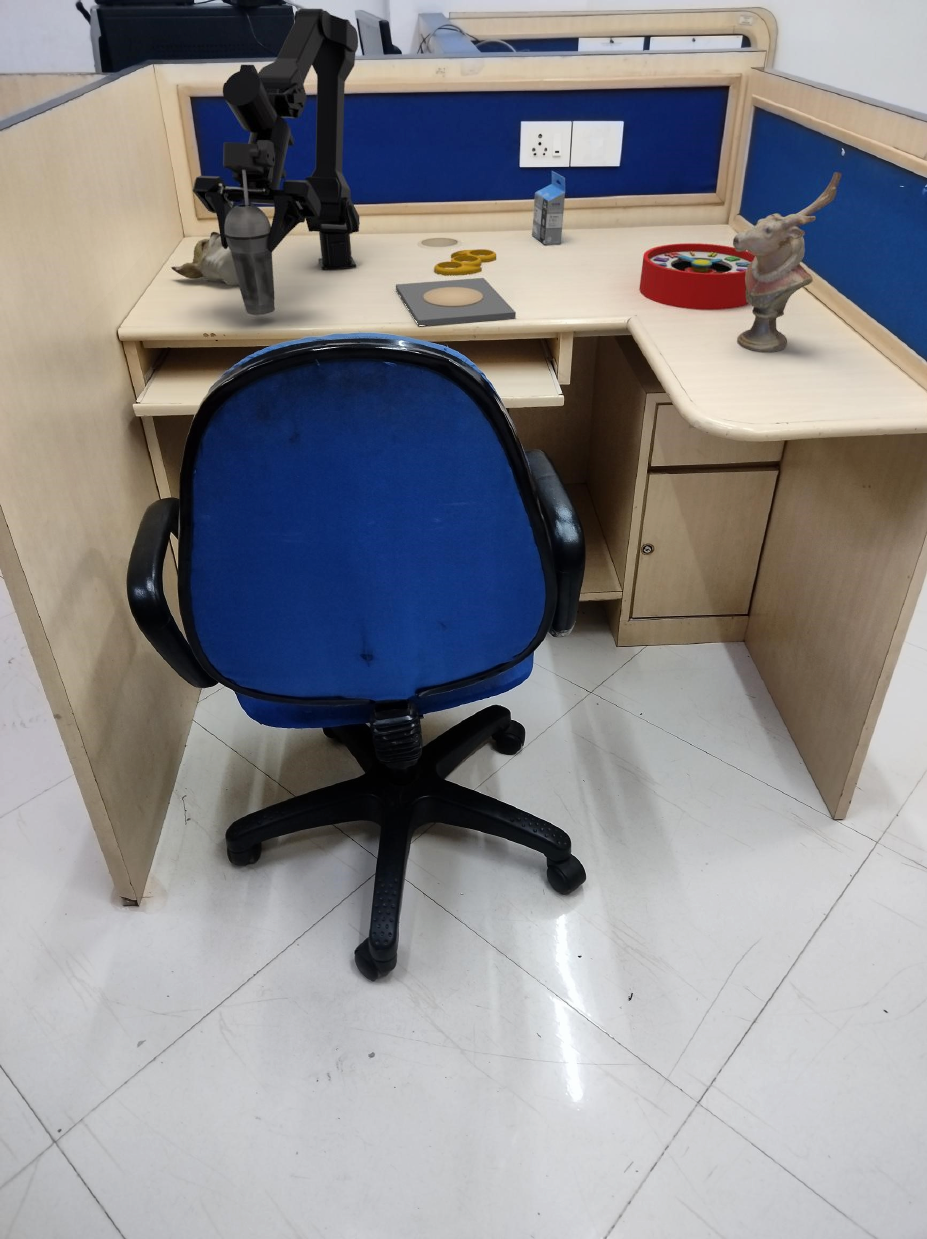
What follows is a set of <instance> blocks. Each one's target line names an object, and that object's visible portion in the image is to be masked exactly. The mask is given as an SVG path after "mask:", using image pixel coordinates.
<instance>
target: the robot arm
mask: <svg viewBox="0 0 927 1239" xmlns="http://www.w3.org/2000/svg"><path fill="white" fill-rule="evenodd" d="M293 19H294V22H293V24H292V27H291V28H290V30H289V33H288V35H287V37H286V38H285V41H284V43H283V46H282V47H281V49H280V51H279V53H278V56H277V57H276V59H275V60H274V62H273V61H272V62H271V63H269V64H267V65H265V66H263V67H262V68H261V69H260V70H259V71H258V70H257V68H256V66H255V64H240V68H239V71H236V72H235V73H233V74H232V75H230V76H229V77H228V79H227V80H226V82H224V84H222V95H223V98H224V100H225V102H226V103H227V104H228V106H229V108H230V110H231V111H232V113H233V114H234V116H235V118H236V119H237V121H238V122H239V124H240V126H241V127H242V129H243V130H245V131H247V132H248V133H250V134H249V139H248V143H247V142H230V141H229V142H228V141H227V142H223V154H222V156H223V157H222V158H223V159H222V160H223V161H222V167H223V169H228V170H230V171H231V172H233V173H232V178H233V179H234V182H236V183H237V182H238V183H239V186H228V185H227V184H226V183H225V181H224V179H223V178H222V177H221V176H215V175H213V176H212V175H199V176H197V177H196V178H195V180H194V183H193V187H192V192H193V193H194V194H195V196H196V197H197V198H198V199H199V201H200V202H201V204H203V207H205V209H206V210H207V211H208V212H210V213H212V214H216V218H217V223H218V230H219V234H220V238H221V244H222V246H223V248H224V249H227V248H228V244H227V241H226V237H225V236H224V233H225V229H224V227H225V220H226V217H227V215H228V213H229V212H230V210H231V209H232V208H233V207H235V203H245V197H244V185H243V174H242V170H246V180H247V191H248V202H249V204H253V205H254V204H258V205H273V206H274V207H273V208H274V211H273V212H274V213H273V215H272V222H271V224H270V225H271V229H270V233H269V238H268V246H267V248H268V250H269V251H270V252H272V253H273V252H274V250H275V249H276V248H277V247H278V246H279V245H280V244H281V242H282V241H283V240H284V239H285V238H286V237H287V236H288V234H289V233H291V231H293V230H294V228H296V226H298V225H299V224H300V223H305V222H306V225H307V229H308V232H309V233H310V232H318V233H319V245H320V253H321V254H320V256H321V257H319V258H318V263H319V266H320V267H321V270H331V269H332V270H335V269H337V270H338V269H349V268H351V269H352V268H357V263H356V262H355V260H354V258H353V256H352V246H351V245H352V244H351V243H352V242H351V235H352V234H353V233H359V232H360V224H361V223H360V215H359V212H358V211H357V209H356V207H355V204H354V203H353V200H352V198H351V188H350V187H349V185H348V183H347V181H346V178H345V176H344V174H343V151H344V150H343V149H344V121H345V119H344V117H345V116H344V115H345V113H344V112H345V86H346V85H345V84H346V83H345V82H346V80H347V79H348V77H349V76H350V74H351V72H352V70H353V69H354V67H355V62H356V60H355V59H356V52H357V51H358V47H359V36H358V35H359V34H358V31H357V29H356V27H355V26H354V25H352V23H351V21H350V20H349V19H348V18H341V17H339V16H336V15H333V14H331V13H329V11H327V10H324V9H323V8H300V9H299V10H298V9H297V10H296V11H295V13H294V18H293ZM311 67H312V68H313V70H314V73H315V74H316V118H315V119H316V124H315V128H316V129H315V134H316V135H315V166H314V167H315V168H314V170H313V172H312V174H311V175H310V176H306V177H305V179H303V180H300V179H298V180H297V179H287V178H286V177H287V171H286V169H285V168H284V166H285V161H286V156H287V152H288V147H294V146H295V141H294V137H293V135H292V133H291V132H292V131H291V128H290V126H289V124H288V122H287V120H285V119H299V118H300V117H301V115H302V113H303V110H304V109H305V106H306V101H307V97H308V96H307V93H306V89H305V86H304V84H305V81H306V80H307V79H306V78H307V76H308V74H309V72H310V70H311ZM282 179H284V181H283V183H282V188H281V187H280V186H281V182H282ZM285 179H286V180H285ZM280 188H281V189H280Z"/></svg>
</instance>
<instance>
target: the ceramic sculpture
mask: <svg viewBox="0 0 927 1239" xmlns="http://www.w3.org/2000/svg"><path fill="white" fill-rule="evenodd" d="M170 269H172V270H173V271H174V272H175V273H177V274H179V275H180V276H183V277H185V278H186V279H187V278H188V279H189V280H190V279H192V280H194V279H202V278H203V279H205V280H206V281H210V282H219V283H221V282H224V283H225V284H226V285H228V286H230V287H239V283H238V279H237V275H236V270H235V266H234V262H233V258H232V254H231V250H230V249H229V246H228V248H227V249H224V248H223V246H222V244H221V238H220V232H217V231H212V232H211V233H210V236H209V237H206V238H203V239H200V240H198V241H197V243H196V244H195V246H194V250H193V258H192V261H191V262H186V263H184V264H182V265H180V266H171V268H170Z"/></svg>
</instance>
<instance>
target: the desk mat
mask: <svg viewBox="0 0 927 1239" xmlns="http://www.w3.org/2000/svg"><path fill="white" fill-rule="evenodd" d="M396 290H397V291H396ZM395 291H396V293H397V292H398V293H397V294H398V296H399V295H400V296H401V298H400V300H401V301H402V300H403V301H404V302H403V301H402V302H403V304H404V303H405V304H406V306H407V307H406V306H405V307H406V309H407V308H408V309H409V310H408V309H407V310H408V312H409V311H410V312H411V314H412V315H411V314H410V315H411V317H412V316H413V317H414V319H415V320H416V321H417V323H418V325H431V326H430V327H433V326H434V327H435V326H443V325H445V326H446V325H455V324H469V323H479V322H489V321H502V320H514V319H516V317H517V316H516V314H517V312H516V311H515V310H514V308H512V307H511V306H510V304H508V302H507V301H506V300H505V299H504V298H503V296H501V295H500V293H498V291H496V289H495V288H493V286H492V285H491V284H490V283H489V282H488V281H487V279H485V278H484V277H478V278H475V277H474V278H463V279H451V280H437V281H436V280H435V281H425V282H412V283H411V282H410V283H398V284H397V283H396V284H395ZM400 296H399V297H400ZM405 304H404V305H405ZM410 312H409V313H410ZM413 317H412V318H413ZM414 319H413V320H414ZM415 320H414V321H415ZM417 323H416V324H417ZM418 325H417V326H418ZM432 325H433V326H432Z"/></svg>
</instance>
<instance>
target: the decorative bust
mask: <svg viewBox="0 0 927 1239" xmlns="http://www.w3.org/2000/svg"><path fill="white" fill-rule="evenodd" d="M842 174H843V173H841V172H837V171H835V172H834V173H833V176H832V178H831V180H830V182H829V184H828V185H827V187H826V188H825V189H824V191H823V192H822V193H821V194H820V195H819V197H817V198H816V200H814V202H812V203H811V204H810V205H808V206H807V207H805V208H804V209H802V210H800V211H799V212H797V213H792V214H788V215H787V216H782V215H781V214H780V213H773V214H769V215H767V216H766V217H765V218H760V219H759V220H757V222H756V225H754V226H751V227H749V228H748V229H745V230H742V231H739V232H738V233H736V234H735V235H734V238H733V239H732V245H733V246H732V247H734V248H735V250H736V251H737V252H742V251H745V250H746V251H748V252H749V253H751V254H753V255H755V258H754V261H752V262H751V263H750V264H749V265H748V267H747V269H746V277H745V281H746V282H745V283H746V301H747V303H748V304H747V305H750V306H752V307H753V309H752V312H751V313H752V314H753V315H754V316H755V317H754V321H753V324H752V326H751V328H749V329H747V330H745V331H743V332H742V333H740V334H738V336H737V338H736V339H737V340H736V342H737V344H738V345H739V346H741V347H743V348H744V349H748V350H751V351H753V352H760V353H772V352H773V353H774V352H778V351H779V352H780V351H783V350H784V349H786V347H787V346H788V339H787V337H786V335H785V334H783V332H781V331H779V330H778V328H777V319H778V318H779V317H780V318H781V317H782V316H784V315H785V312H784V311H785V309H786V306H787V303H788V301H789V299H790V298H791V296H792V295H794V294H795V293H796V292H797V291H799V290H800V289H802V288H804V287H806V286H809V285H810V284H812V282H813V277H812V275H811V273H809V272H808V271H807V270H806V269H805V268H804V267H803V266H802V265H801V262H802V260H803V258H804V256H805V252H806V248H805V239H804V236H805V234H806V233H805V230H803V229H800V228H799V227H800V226H804V225H805V224H809V223H812V222H815V220H816V218H817V217H816V216H815V215H813V213H815V212H817V211H819V210H821V209H822V208H824V207H826V206H827V205H828V204H830V203H831V202H832V201H834V199H835V197H836V195H837V188H838V186H839V184H840V183H839V182H840V180H841V178H842Z"/></svg>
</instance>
